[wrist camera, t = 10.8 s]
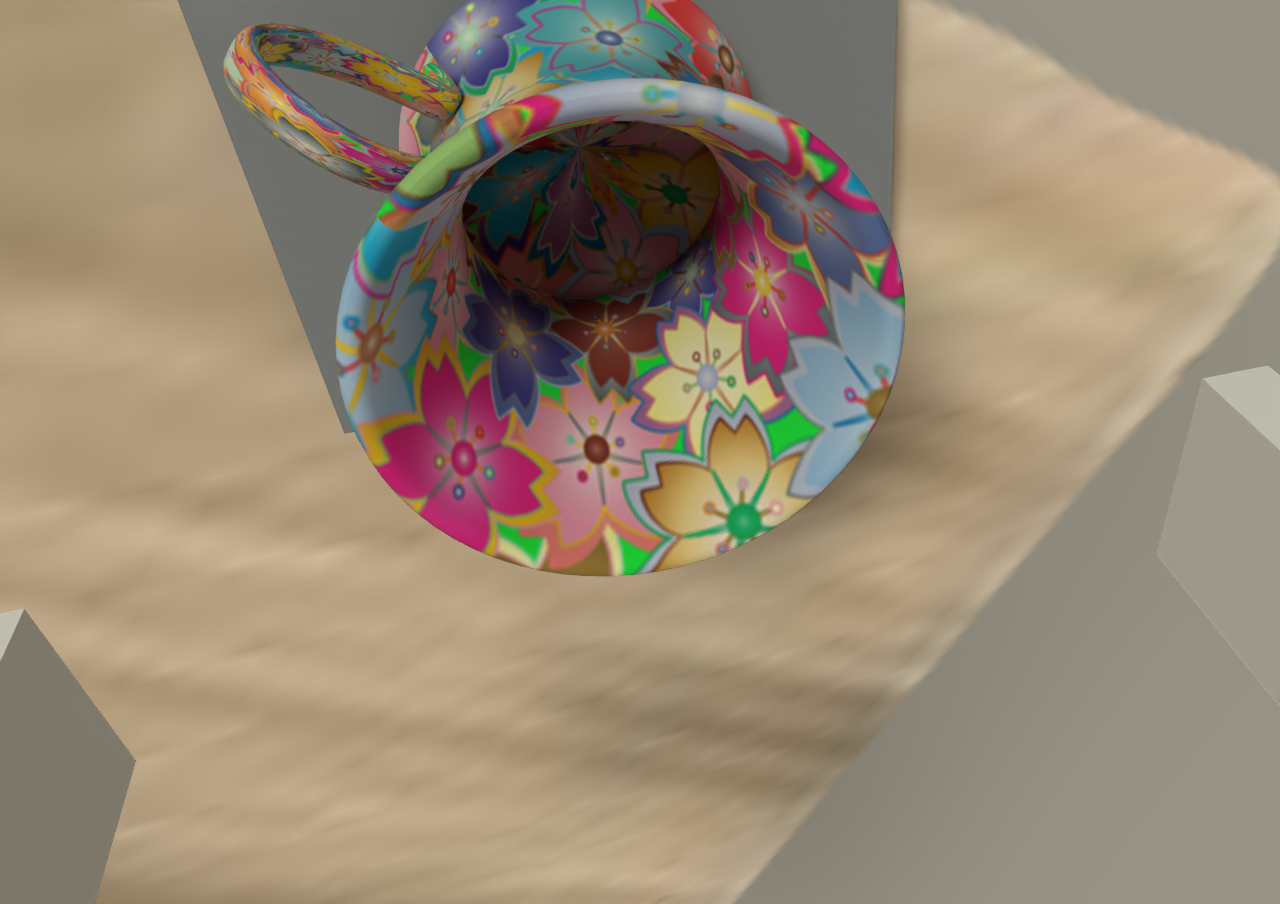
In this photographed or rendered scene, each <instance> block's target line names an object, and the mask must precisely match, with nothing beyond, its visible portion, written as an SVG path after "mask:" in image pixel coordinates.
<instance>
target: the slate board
mask: <svg viewBox="0 0 1280 904" xmlns="http://www.w3.org/2000/svg"><path fill="white" fill-rule="evenodd" d="M466 1H468V0H178V2H179V5H180V8H181V10H182V13H183V15H184V18H185V21H186V23H187V26H188V28H189V31H190V33H191V36H192V39H193V41H194V44H195V46H196V49H197V52H198V54H199V57H200V59H201V62H202V65H203V67H204V70H205V72H206V75H207V78H208V80H209V83H210V85H211V88H212V91H213V93H214V96H215V98H216V101H217V104H218V106H219V109H220V111H221V114H222V117H223V119H224V122H225V124H226V127H227V129H228V132H229V135H230V137H231V140H232V142H233V145H234V148H235V150H236V153H237V155H238V158H239V161H240V163H241V166H242V168H243V171H244V174H245V176H246V179H247V181H248V184H249V187H250V189H251V192H252V194H253V197H254V200H255V202H256V205H257V207H258V210H259V213H260V215H261V218H262V220H263V223H264V226H265V228H266V231H267V233H268V236H269V238H270V241H271V244H272V246H273V249H274V251H275V254H276V257H277V259H278V262H279V264H280V267H281V270H282V272H283V275H284V277H285V280H286V283H287V285H288V288H289V290H290V293H291V296H292V298H293V301H294V303H295V306H296V309H297V311H298V314H299V316H300V319H301V322H302V324H303V327H304V329H305V332H306V335H307V337H308V340H309V342H310V345H311V347H312V350H313V353H314V355H315V358H316V360H317V363H318V366H319V368H320V371H321V373H322V376H323V379H324V381H325V384H326V386H327V389H328V392H329V394H330V397H331V399H332V402H333V405H334V407H335V410H336V412H337V415H338V418H339V420H340V423H341V425H342V428H343V431H344V433H350V432H355V431H354V429H353V426H352V424H351V422H350V419H349V417H348V414H347V411H346V407H345V404H344V401H343V397H342V394H341V390H340V384H339V378H338V372H337V362H336V328H337V316H338V310H339V305H340V300H341V294H342V289H343V286H344V282H345V279H346V276H347V273H348V270H349V266H350V263H351V261H352V258H353V256H354V254H355V252H356V249H357V247H358V245H359V243H360V240H361V238H362V236H363V234H364V233H365V231H366V229H367V228H368V226H369V224H370V222H371V221H372V219H373V217H374V216H375V214H376V212H377V211H378V209H379V208H380V207H381V205H382V204H383V203H384V201H385V200H386V199H387V198H388V196H389V195H390V194H389V193H384V192H380V191H376V190H373V189H370V188H366V187H363V186H361V185H358V184H356V183H353V182H350V181H348V180H346V179H344V178H341V177H339V176H337V175H335V174H333V173H331V172H329V171H327V170H325V169H323V168H322V167H320V166H318V165H316V164H315V163H313V162H311V161H309V160H308V159H306V158H305V157H303V156H301V155H300V154H298V153H297V152H295V151H294V150H292V149H291V148H290V147H288V146H287V145H285V144H284V143H282V142H281V141H280V140H279V139H277V138H276V137H275V136H273V135H272V134H271V133H270V132H268V131H267V130H266V129H265V128H264V127H263V126H262V125H260V124H259V123H258V122H257V121H256V120H255V119H254V118H253V117H252V116H251V115H250V114H249V113H248V112H247V111H246V110H245V109H244V108H243V107H242V105H241V104H240V103H239V102H238V101H237V100H236V98H235V97H234V95H233V94H232V92H231V91H230V89H229V87H228V86H227V83H226V81H225V78H224V72H223V63H224V59H225V56H226V54H227V51H228V49H229V47H230V45H231V43H232V42H233V40H234V38H235V37H236V36H237V35H238V34H239V33H240V32H241V31H242V30H244V29H245V28H247V27H249V26H252V25H255V24H262V23H278V24H286V25H294V26H299V27H304V28H309V29H313V30H317V31H321V32H324V33H327V34H331V35H334V36H337V37H340V38H343V39H346V40H349V41H352V42H355V43H357V44H360V45H363V46H365V47H368V48H370V49H372V50H375V51H377V52H380V53H382V54H384V55H386V56H389V57H391V58H393V59H395V60H397V61H399V62H402V63H404V64H406V65H408V66H410V67H412V68H415V65H416V63H417V61H418V59H419V57H420V56H421V54H422V52H423V50H424V49H425V47H426V45H427V44H428V42H429V41H430V40H431V38H432V37H433V35H434V34H435V33H436V31H437V30H438V29H439V28H440V26H441V25H442V24H443V23H444V22H445V21H446V20H447V19H448V17H449V16H450V15H451V14H453V13H454V12H455V11H456V10H457V9H458V8H459V7H460V6H461V5H462V4H464V3H465V2H466ZM691 1H692V2H694V3H695V4H696V5H697V6H698V7H699V8H700V9H701V10H702V11H703V12H705V13H706V14H707V15H708V16H709V17H710V18H711V20H712V21H713V22H714V23H715V24H716V25H717V27H718V28H719V29H720V30H721V31H722V33H723V34H724V36H725V37H726V39H727V40H728V42H729V43H730V45H731V46H732V48H733V50H734V52H735V53H736V55H737V57H738V59H739V61H740V63H741V65H742V68H743V70H744V73H745V75H746V77H747V81H748V84H749V87H750V91H751V94H752V99H753V100H754V101H757V102H759V103H761V104H763V105H766V106H768V107H770V108H772V109H775V110H776V111H778V112H780V113H782V114H783V115H785V116H787V117H788V118H790V119H792V120H794V121H795V122H797V123H799V124H800V125H802V126H803V127H805V128H806V129H807V130H809V131H810V132H811V133H813V134H814V135H815V136H817V137H818V138H819V139H821V140H822V141H823V142H824V143H825V144H827V145H828V146H829V147H830V148H831V149H832V150H833V151H834V152H835V153H836V154H837V155H838V156H839V157H840V158H841V159H843V161H844V162H845V163H846V164H847V165H848V166H849V168H850V169H851V170H852V171H853V172H854V174H855V175H856V176H857V177H858V178H859V179H860V181H861V182H862V183H863V185H864V186H865V188H866V189H867V191H868V192H869V194H870V195H871V197H872V198H873V200H874V202H875V203H876V205H877V206H878V208H879V210H880V212H881V214H882V216H883V218H884V220H885V222H886V224H887V226H888V228H889V231H890V234H891V205H892V169H893V133H894V97H895V61H896V25H897V0H691ZM269 67H270V68H271V69H272V70H273V71H274V72H275V73H276V74H277V75H278V76H279V77H280V78H281V79H282V80H283V81H284V82H285V83H286V84H287V85H288V86H289V87H291V88H292V89H293V90H294V91H295V92H296V93H298V94H299V95H300V96H301V97H303V98H304V99H305V100H306V101H308V102H309V103H310V104H312V105H313V106H314V107H316V108H317V109H319V110H320V111H321V112H323V113H324V114H326V115H327V116H329V117H331V118H332V119H334V120H335V121H337V122H338V123H340V124H342V125H343V126H345V127H347V128H349V129H350V130H352V131H354V132H356V133H358V134H360V135H362V136H364V137H366V138H368V139H370V140H372V141H374V142H377V143H379V144H381V145H384V146H386V147H389V148H392V149H395V150H398V151H399V125H400V114H401V109H402V105H401V104H399V103H396V102H394V101H392V100H390V99H387V98H385V97H383V96H381V95H378V94H376V93H373V92H371V91H368V90H366V89H363V88H361V87H358V86H355V85H353V84H350V83H347V82H344V81H341V80H338V79H335V78H331V77H328V76H324V75H321V74H317V73H313V72H309V71H305V70H299V69H294V68H288V67H278V66H269Z"/></svg>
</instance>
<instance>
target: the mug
mask: <svg viewBox="0 0 1280 904" xmlns="http://www.w3.org/2000/svg"><path fill="white" fill-rule="evenodd" d="M269 66H278V67H288V68H294V69H299V70H305V71H309V72H313V73H317V74H321V75H324V76H328V77H331V78H335V79H338V80H341V81H344V82H347V83H350V84H353V85H355V86H358V87H361V88H363V89H366V90H368V91H371V92H373V93H376V94H378V95H381V96H383V97H385V98H387V99H390V100H392V101H394V102H396V103H399V104H401V105H402V109H401V114H400V125H399V151H398V150H395V149H392V148H389V147H386V146H384V145H381V144H379V143H377V142H374V141H372V140H370V139H368V138H366V137H364V136H362V135H360V134H358V133H356V132H354V131H352V130H350V129H349V128H347V127H345V126H343V125H342V124H340V123H338V122H337V121H335V120H334V119H332V118H331V117H329V116H327V115H326V114H324V113H323V112H321V111H320V110H319V109H317V108H316V107H314V106H313V105H312V104H310V103H309V102H308V101H306V100H305V99H304V98H303V97H301V96H300V95H299V94H298V93H296V92H295V91H294V90H293V89H292V88H291V87H289V86H288V85H287V84H286V83H285V82H284V81H283V80H282V79H281V78H280V77H279V76H278V75H277V74H276V73H275V72H274V71H273V70H272V69H271V68H270V67H269ZM223 72H224V78H225V81H226V83H227V86H228V87H229V89H230V91H231V92H232V94H233V95H234V97H235V98H236V100H237V101H238V102H239V103H240V104H241V105H242V107H243V108H244V109H245V110H246V111H247V112H248V113H249V114H250V115H251V116H252V117H253V118H254V119H255V120H256V121H257V122H258V123H259V124H260V125H262V126H263V127H264V128H265V129H266V130H267V131H268V132H270V133H271V134H272V135H273V136H275V137H276V138H277V139H279V140H280V141H281V142H282V143H284V144H285V145H287V146H288V147H290V148H291V149H292V150H294V151H295V152H297V153H298V154H300V155H301V156H303V157H305V158H306V159H308V160H309V161H311V162H313V163H315V164H316V165H318V166H320V167H322V168H323V169H325V170H327V171H329V172H331V173H333V174H335V175H337V176H339V177H341V178H344V179H346V180H348V181H350V182H353V183H356V184H358V185H361V186H363V187H366V188H370V189H373V190H376V191H380V192H384V193H389V194H390V195H389V196H388V198H387V199H386V200H385V201H384V203H383V204H382V205H381V207H380V208H379V209H378V211H377V212H376V214H375V216H374V217H373V219H372V221H371V222H370V224H369V226H368V228H367V229H366V231H365V233H364V234H363V236H362V238H361V240H360V243H359V245H358V247H357V249H356V252H355V254H354V256H353V258H352V261H351V263H350V266H349V270H348V273H347V276H346V279H345V282H344V286H343V289H342V294H341V300H340V305H339V310H338V316H337V328H336V362H337V372H338V378H339V384H340V390H341V394H342V397H343V401H344V404H345V407H346V411H347V414H348V417H349V419H350V422H351V424H352V426H353V429H354V431H355V433H356V436H357V438H358V440H359V441H360V443H361V445H362V447H363V449H364V450H365V452H366V454H367V456H368V458H369V459H370V461H371V462H372V464H373V465H374V466H375V468H376V469H377V471H378V472H379V474H380V475H381V476H382V478H383V479H384V480H385V481H386V483H387V484H388V485H389V486H390V487H391V488H392V489H393V490H394V492H395V493H396V494H397V495H398V496H399V497H400V498H401V499H402V500H403V501H404V502H405V503H406V504H407V505H408V506H410V507H411V508H412V509H413V510H414V511H415V512H416V513H417V514H419V515H420V516H421V517H423V518H424V519H425V520H426V521H428V522H429V523H430V524H432V525H433V526H434V527H436V528H438V529H439V530H441V531H442V532H444V533H445V534H447V535H449V536H450V537H452V538H453V539H455V540H457V541H459V542H461V543H463V544H465V545H467V546H469V547H471V548H473V549H475V550H477V551H480V552H482V553H485V554H487V555H489V556H492V557H494V558H497V559H500V560H503V561H506V562H510V563H513V564H516V565H519V566H524V567H528V568H532V569H536V570H541V571H547V572H553V573H560V574H568V575H581V576H621V575H635V574H643V573H650V572H658V571H662V570H667V569H672V568H677V567H681V566H685V565H688V564H692V563H695V562H699V561H703V560H705V559H708V558H711V557H714V556H717V555H719V554H722V553H725V552H727V551H730V550H732V549H734V548H736V547H739V546H741V545H743V544H745V543H747V542H749V541H751V540H753V539H755V538H757V537H759V536H761V535H762V534H764V533H766V532H768V531H770V530H771V529H773V528H774V527H776V526H778V525H779V524H781V523H782V522H784V521H785V520H787V519H789V518H790V517H791V516H793V515H794V514H795V513H797V512H798V511H799V510H801V509H802V508H803V507H805V506H806V505H807V504H808V503H810V502H811V501H812V500H813V499H814V498H815V497H816V496H818V495H819V494H820V493H821V492H822V491H823V490H824V489H825V488H826V487H827V486H828V485H829V484H830V483H831V482H832V481H833V480H834V479H835V478H836V477H837V476H838V475H839V474H840V473H841V472H842V471H843V469H844V468H845V467H846V466H847V465H848V463H849V462H850V461H851V460H852V459H853V457H854V456H855V455H856V453H857V452H858V451H859V449H860V448H861V446H862V445H863V443H864V442H865V440H866V439H867V437H868V436H869V434H870V433H871V431H872V429H873V427H874V425H875V424H876V422H877V420H878V418H879V417H880V415H881V412H882V410H883V408H884V406H885V403H886V401H887V399H888V397H889V394H890V392H891V389H892V386H893V383H894V380H895V377H896V374H897V370H898V365H899V361H900V356H901V352H902V345H903V336H904V327H905V296H904V287H903V278H902V272H901V268H900V263H899V259H898V255H897V251H896V248H895V245H894V242H893V240H892V237H891V234H890V231H889V228H888V226H887V224H886V222H885V220H884V218H883V216H882V214H881V212H880V210H879V208H878V206H877V205H876V203H875V202H874V200H873V198H872V197H871V195H870V194H869V192H868V191H867V189H866V188H865V186H864V185H863V183H862V182H861V181H860V179H859V178H858V177H857V176H856V175H855V174H854V172H853V171H852V170H851V169H850V168H849V166H848V165H847V164H846V163H845V162H844V161H843V159H841V158H840V157H839V156H838V155H837V154H836V153H835V152H834V151H833V150H832V149H831V148H830V147H829V146H828V145H827V144H825V143H824V142H823V141H822V140H821V139H819V138H818V137H817V136H815V135H814V134H813V133H811V132H810V131H809V130H807V129H806V128H805V127H803V126H802V125H800V124H799V123H797V122H795V121H794V120H792V119H790V118H788V117H787V116H785V115H783V114H782V113H780V112H778V111H776V110H775V109H772V108H770V107H768V106H766V105H763V104H761V103H759V102H757V101H754V100H753V99H752V94H751V91H750V87H749V84H748V81H747V77H746V75H745V73H744V70H743V68H742V65H741V63H740V61H739V59H738V57H737V55H736V53H735V52H734V50H733V48H732V46H731V45H730V43H729V42H728V40H727V39H726V37H725V36H724V34H723V33H722V31H721V30H720V29H719V28H718V27H717V25H716V24H715V23H714V22H713V21H712V20H711V18H710V17H709V16H708V15H707V14H706V13H705V12H703V11H702V10H701V9H700V8H699V7H698V6H697V5H696V4H695V3H694V2H692V1H691V0H468V1H466V2H465V3H464V4H462V5H461V6H460V7H459V8H458V9H457V10H456V11H455V12H454V13H453V14H451V15H450V16H449V17H448V19H447V20H446V21H445V22H444V23H443V24H442V25H441V26H440V28H439V29H438V30H437V31H436V33H435V34H434V35H433V37H432V38H431V40H430V41H429V42H428V44H427V45H426V47H425V49H424V50H423V52H422V54H421V56H420V57H419V59H418V61H417V63H416V65H415V68H412V67H410V66H408V65H406V64H404V63H402V62H399V61H397V60H395V59H393V58H391V57H389V56H386V55H384V54H382V53H380V52H377V51H375V50H372V49H370V48H368V47H365V46H363V45H360V44H357V43H355V42H352V41H349V40H346V39H343V38H340V37H337V36H334V35H331V34H327V33H324V32H321V31H317V30H313V29H309V28H304V27H299V26H294V25H286V24H278V23H262V24H255V25H252V26H249V27H247V28H245V29H244V30H242V31H241V32H240V33H239V34H238V35H237V36H236V37H235V38H234V40H233V42H232V43H231V45H230V47H229V49H228V51H227V54H226V56H225V59H224V63H223Z"/></svg>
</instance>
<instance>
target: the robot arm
mask: <svg viewBox="0 0 1280 904" xmlns="http://www.w3.org/2000/svg"><path fill="white" fill-rule="evenodd" d="M1156 555H1157V556H1158V557H1159V559H1160V560H1161V561H1162V563H1163V564H1164V565H1165V566H1166V567H1167V569H1168V570H1169V571H1170V572H1171V574H1172V575H1173V576H1174V577H1175V579H1176V580H1177V581H1178V582H1179V584H1180V585H1181V586H1182V587H1183V589H1184V590H1185V591H1186V592H1187V593H1188V595H1189V596H1190V597H1191V598H1192V600H1193V601H1194V602H1195V603H1196V605H1197V606H1198V607H1199V608H1200V610H1201V611H1202V612H1203V613H1204V614H1205V616H1206V617H1207V618H1208V619H1209V621H1210V622H1211V623H1212V624H1213V625H1214V627H1215V628H1216V629H1217V630H1218V632H1219V633H1220V634H1221V636H1222V637H1223V638H1224V639H1225V641H1226V642H1227V643H1228V644H1229V645H1230V647H1231V648H1232V649H1233V650H1234V652H1235V653H1236V654H1237V655H1238V657H1239V658H1240V659H1241V660H1242V661H1243V663H1244V664H1245V665H1246V667H1247V668H1248V669H1249V670H1250V671H1251V673H1252V674H1253V675H1254V676H1255V678H1256V679H1257V680H1258V681H1259V682H1260V684H1261V685H1262V686H1263V688H1264V689H1265V690H1266V691H1267V693H1268V694H1269V695H1270V696H1271V697H1272V699H1273V700H1274V701H1275V702H1276V704H1277V705H1278V706H1279V707H1280V376H1279V375H1278V374H1277V373H1276V372H1275V371H1273V370H1272V369H1271V368H1270V367H1268V366H1265V367H1260V368H1255V369H1249V370H1244V371H1239V372H1234V373H1229V374H1224V375H1218V376H1214V377H1208V378H1203V379H1202V383H1201V386H1200V390H1199V394H1198V398H1197V401H1196V405H1195V409H1194V413H1193V417H1192V420H1191V424H1190V428H1189V432H1188V436H1187V439H1186V443H1185V447H1184V451H1183V455H1182V458H1181V462H1180V466H1179V470H1178V474H1177V477H1176V481H1175V485H1174V489H1173V493H1172V496H1171V500H1170V504H1169V508H1168V511H1167V515H1166V519H1165V523H1164V527H1163V530H1162V534H1161V538H1160V542H1159V546H1158V550H1157V553H1156ZM135 762H136V760H135V759H134V758H133V756H132V755H131V754H130V752H129V751H128V749H127V748H126V747H125V745H124V744H123V743H122V741H121V740H120V739H119V737H118V736H117V734H116V733H115V732H114V730H113V729H112V728H111V726H110V725H109V724H108V722H107V721H106V719H105V718H104V717H103V715H102V714H101V713H100V711H99V710H98V709H97V707H96V706H95V704H94V703H93V702H92V700H91V699H90V698H89V696H88V695H87V694H86V692H85V691H84V689H83V688H82V687H81V685H80V684H79V683H78V681H77V680H76V679H75V677H74V676H73V674H72V673H71V672H70V670H69V669H68V668H67V666H66V665H65V664H64V662H63V661H62V659H61V658H60V657H59V655H58V654H57V653H56V651H55V650H54V649H53V647H52V646H51V644H50V643H49V642H48V640H47V639H46V638H45V636H44V635H43V634H42V632H41V631H40V629H39V628H38V627H37V625H36V624H35V623H34V621H33V620H32V619H31V617H30V616H29V614H28V613H27V612H26V610H25V609H20V610H15V611H10V612H5V613H0V904H95V900H96V897H97V893H98V890H99V887H100V883H101V880H102V876H103V873H104V869H105V866H106V862H107V859H108V855H109V852H110V849H111V845H112V842H113V838H114V835H115V831H116V828H117V824H118V821H119V817H120V814H121V811H122V807H123V804H124V800H125V797H126V793H127V790H128V786H129V783H130V779H131V776H132V772H133V769H134V766H135Z"/></svg>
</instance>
